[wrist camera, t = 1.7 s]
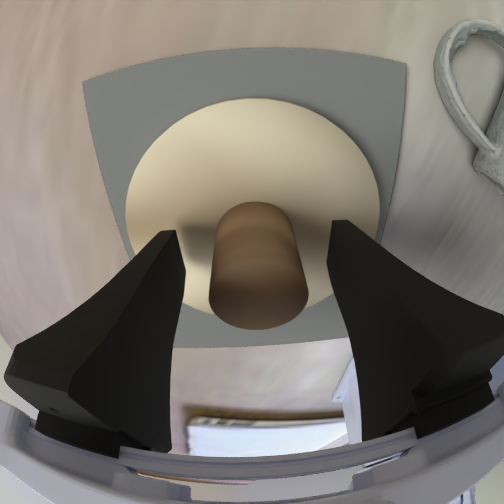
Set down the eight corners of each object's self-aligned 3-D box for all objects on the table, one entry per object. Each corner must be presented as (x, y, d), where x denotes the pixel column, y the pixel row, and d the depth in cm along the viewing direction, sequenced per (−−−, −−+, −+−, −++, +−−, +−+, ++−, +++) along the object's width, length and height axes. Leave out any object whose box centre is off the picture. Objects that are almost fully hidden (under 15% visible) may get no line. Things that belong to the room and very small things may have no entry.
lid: (351, 299, 15) (372, 363, 11) (164, 310, 15) (151, 376, 11) (386, 103, 8) (456, 134, 5) (106, 119, 8) (41, 158, 5)
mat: (349, 332, 17) (350, 336, 17) (169, 342, 17) (169, 347, 17) (400, 62, 8) (406, 63, 7) (87, 81, 8) (82, 82, 7)
